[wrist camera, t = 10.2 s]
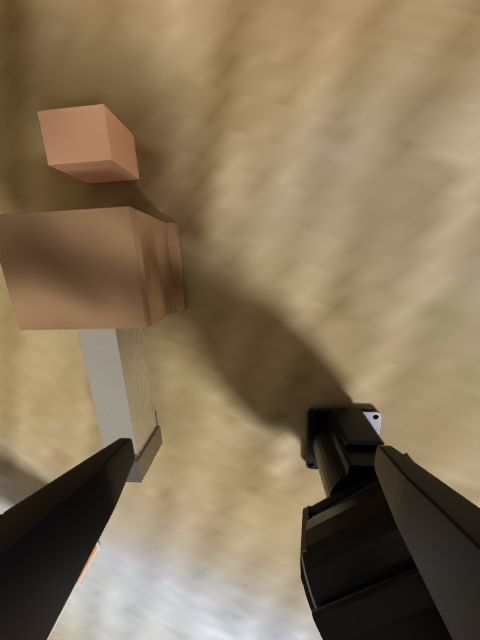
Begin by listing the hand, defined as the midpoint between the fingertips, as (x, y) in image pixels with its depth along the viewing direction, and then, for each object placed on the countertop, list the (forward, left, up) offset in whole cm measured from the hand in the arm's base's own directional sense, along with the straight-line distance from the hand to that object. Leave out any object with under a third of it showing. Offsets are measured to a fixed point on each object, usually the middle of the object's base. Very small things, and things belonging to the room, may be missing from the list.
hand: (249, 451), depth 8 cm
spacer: (+13, +11, -11) cm, 20 cm away
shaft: (-1, +11, -11) cm, 16 cm away
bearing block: (+6, +11, -12) cm, 18 cm away
